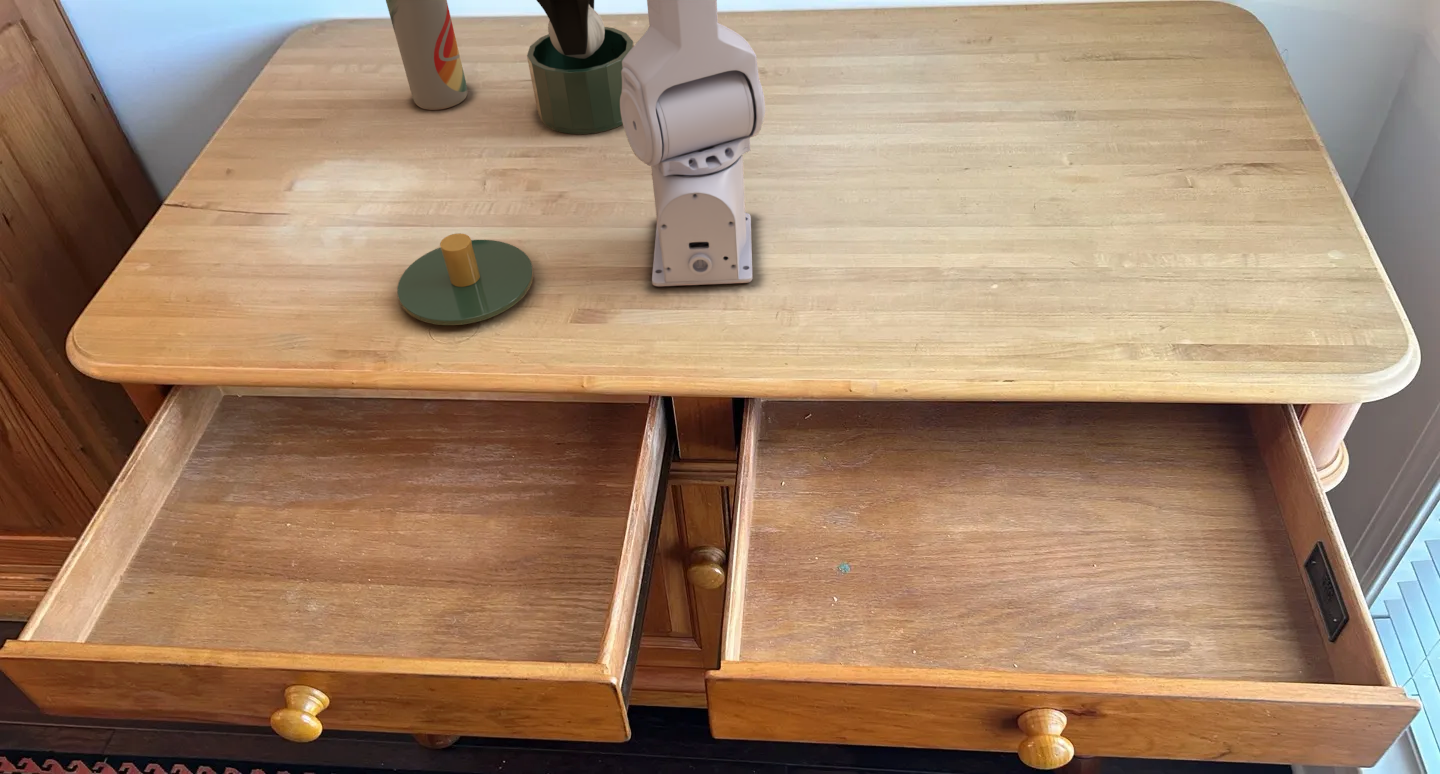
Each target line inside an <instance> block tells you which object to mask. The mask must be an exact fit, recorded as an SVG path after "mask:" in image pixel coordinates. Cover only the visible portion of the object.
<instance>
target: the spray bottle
mask: <svg viewBox="0 0 1440 774" xmlns="http://www.w3.org/2000/svg"><path fill="white" fill-rule="evenodd" d="M385 3H386V7H387V11H388V13H389V17H390V21H391V25H392V28H393V32H394V37H395V39H396V42H397V46H398V50H399V54H400V57H401V62H402V65H403V68H404V72H405V76H406V79H407V83H408V86H409V89H410V94H411V97H412V100H413V102H414V104H415V105H416V106H418V107H419V108H421V109H424V110H430V111H432V110H435V111H436V110H445V109H449V108H452V107H454V106H457V105H459V104H460V103H462V102H463V101H464V100H465V99H466V98H467V96H468V85H467V81H466V77H465V72H464V67H463V64H462V59H461V55H460V51H459V47H458V43H457V38H456V34H455V30H454V25H453V21H452V17H451V12H450V8H449V3H448V0H385Z"/></svg>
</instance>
